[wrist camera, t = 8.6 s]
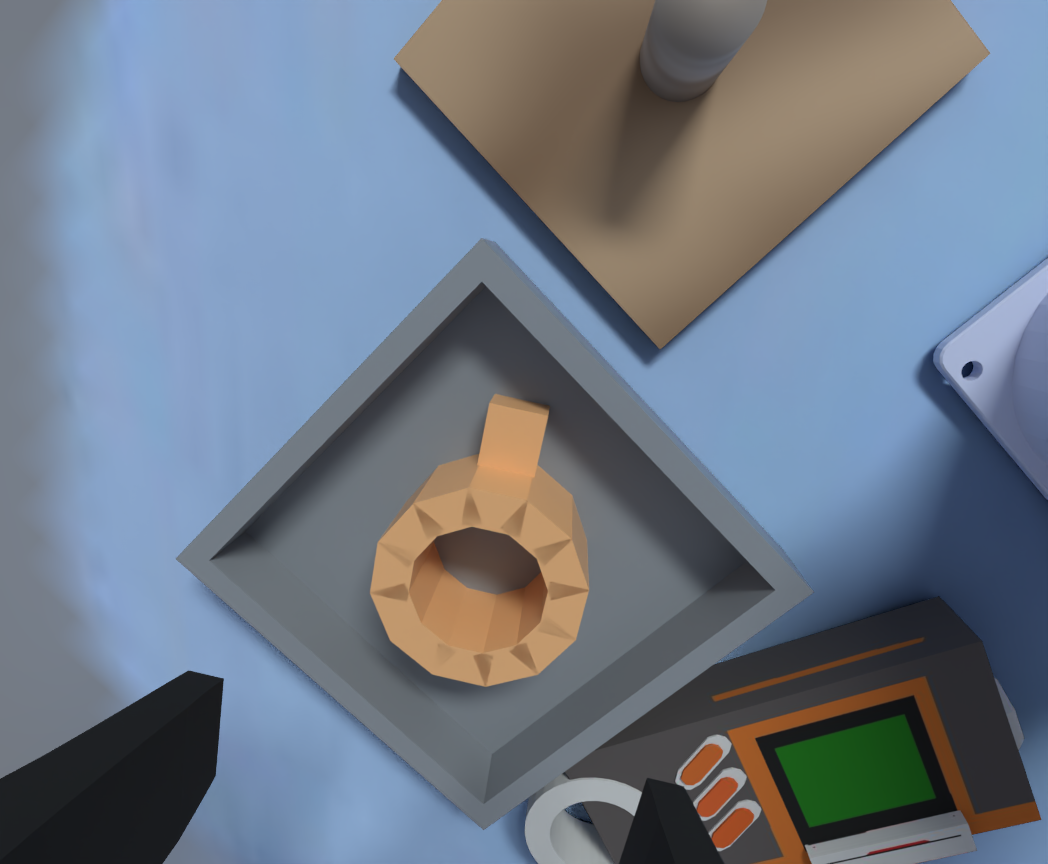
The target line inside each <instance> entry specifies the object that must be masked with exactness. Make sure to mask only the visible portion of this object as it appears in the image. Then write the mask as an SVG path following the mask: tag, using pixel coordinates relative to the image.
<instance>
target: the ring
mask: <svg viewBox="0 0 1048 864" xmlns="http://www.w3.org/2000/svg"><path fill="white" fill-rule="evenodd" d="M549 409H550V406H548V405H544V404H539V403H535V402H530V401H526V400H521V399H517V398H512V397H507V396H503V395H498V394H495V395H494V396H493V398H492V399H491V401H490V403H489V407H488V412H487V417H486V423H485V428H484V433H483V438H482V443H481V448H480V453H479V454H476V455H473V456H469V457H466V458H463V459H459V460H456V461H452V462H449V463H446V464H442V465H439V466H438V467H437V468H436V469H435V470H434V472H433V473H432V474H431V475H430V476H429V477H428V478H427V479H426V480H425V481H424V483H423V484H422V485H421V486H420V487H419V488H418V489H417V490H416V491H415V492H414V494H413V495H412V496H411V497H410V498H409V499H408V500H407V502H406V503H405V504H404V506H403V507H402V509H401V510H400V511H399V513H398V514H397V516H396V517H395V519H394V520H393V521H392V523H391V524H390V526H389V527H388V528H387V530H386V531H385V533H384V534H383V535H382V537H381V538H380V540H379V541H378V544H377V550H376V557H375V563H374V570H373V576H372V582H371V589H370V594H371V597H372V599H373V601H374V604H375V606H376V609H377V611H378V613H379V616H380V618H381V620H382V623H383V625H384V627H385V630H386V632H387V634H388V637H389V639H390V641H391V642H392V643H394V644H395V645H396V646H397V647H399V648H400V649H401V650H402V651H404V652H405V653H406V654H407V655H409V656H410V657H411V658H412V659H414V660H415V661H416V662H417V663H419V664H420V665H421V666H422V667H424V668H425V669H426V670H427V671H429V672H430V673H431V674H432V675H437V676H441V677H445V678H450V679H454V680H458V681H463V682H467V683H471V684H476V685H480V686H484V687H487V686H492V685H496V684H500V683H504V682H509V681H513V680H517V679H521V678H526V677H530V676H534V675H538V674H539V673H540V672H541V671H542V670H544V669H545V668H546V667H547V666H548V665H549V664H550V663H551V662H552V661H553V660H555V659H556V658H557V657H558V656H559V655H560V654H561V653H562V652H563V651H564V650H565V649H567V648H568V647H569V646H570V645H571V644H572V643H573V642H574V641H575V640H576V638H577V634H578V630H579V626H580V623H581V619H582V615H583V611H584V608H585V604H586V600H587V596H588V592H589V576H588V553H587V539H586V536H585V533H584V530H583V526H582V523H581V520H580V517H579V514H578V511H577V508H576V505H575V502H574V499H573V495H571V494H570V493H569V492H568V491H567V490H566V489H565V488H563V487H562V486H561V485H560V484H559V483H558V482H557V481H555V480H554V479H553V478H552V477H551V476H550V475H549V474H547V473H546V472H545V471H544V470H543V469H542V468H541V467H540V466H538V465H537V464H538V459H539V455H540V450H541V446H542V442H543V437H544V433H545V428H546V424H547V419H548V415H549ZM469 527H476V528H481V529H485V530H489V531H494V532H498V533H503V534H507V535H510V536H511V537H512V538H513V539H514V540H515V541H517V542H518V543H519V544H520V545H521V546H522V547H524V548H525V549H526V550H527V551H528V552H529V553H531V554H532V555H533V556H534V557H535V558H536V559H537V561H538V564H539V567H540V569H541V573H540V574H538V575H537V576H536V577H535V578H534V579H533V580H532V581H531V582H530V583H529V584H528V585H527V586H526V587H525V588H521V589H517V590H513V591H509V592H505V593H501V594H498V595H496V594H491V593H487V592H483V591H478V590H474V589H469V588H467V587H466V586H464V585H463V584H462V583H461V582H459V581H458V580H457V579H456V578H455V577H453V576H452V575H451V574H450V573H449V572H447V571H446V570H445V569H444V566H443V564H442V561H441V559H440V556H439V554H438V551H437V549H436V546H435V544H434V540H435V538H436V537H437V536H440V535H444V534H447V533H451V532H454V531H458V530H462V529H465V528H469Z"/></svg>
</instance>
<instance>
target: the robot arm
mask: <svg viewBox="0 0 1048 864" xmlns="http://www.w3.org/2000/svg"><path fill="white" fill-rule="evenodd" d="M970 361H972V363H973V366H974V367H973V371H972V372H971V374H970V375H969V376H967V377H965V378H963V376H962V374H961V372H962V368H963V366H964V365H965V364H966V363H968V362H970ZM933 362H934V364H935V366H936V368H937V369H938V370H939V371H940V373H941V374H942V375H943V376H944V377H945V379H946V380H947V381H948V382H949V383H950V385H951V386H952V387H953V388H954V389H955V391H956V392H957V393H958V394H959V395H960V397H961V398H962V399H963V400H964V401H965V403H966V404H967V405H968V406H969V407H970V409H971V410H972V411H973V412H974V413H975V414H976V416H977V417H978V418H979V419H980V420H981V422H982V423H983V424H984V425H985V426H986V428H987V429H988V430H989V431H990V432H991V434H992V435H993V436H994V437H995V438H996V440H997V441H998V442H999V443H1000V444H1001V446H1002V447H1003V448H1004V449H1005V450H1006V451H1007V453H1008V454H1009V455H1010V456H1011V457H1012V459H1013V460H1014V461H1015V462H1016V463H1017V465H1018V466H1019V467H1020V468H1021V469H1022V471H1023V472H1024V473H1025V474H1026V475H1027V477H1028V478H1029V479H1030V480H1031V481H1032V483H1033V484H1034V485H1035V486H1036V487H1037V489H1038V490H1039V491H1040V492H1041V493H1042V494H1043V496H1044V497H1045V498H1046V499H1047V500H1048V258H1047V259H1046V260H1044V261H1043V262H1042V263H1041V264H1039V265H1038V266H1037V267H1036V268H1034V269H1033V270H1032V271H1030V272H1029V273H1028V274H1027V275H1025V276H1024V277H1023V278H1022V279H1020V280H1019V281H1018V282H1017V283H1015V284H1014V285H1013V286H1011V287H1010V288H1009V289H1008V290H1006V291H1005V292H1004V293H1003V294H1001V295H1000V296H999V297H998V298H996V299H995V300H994V301H992V302H991V303H990V304H989V305H987V306H986V307H985V308H984V309H982V310H981V311H980V312H979V313H977V314H976V315H975V316H973V317H972V318H971V319H970V320H968V321H967V322H966V323H965V324H963V325H962V326H961V327H960V328H958V329H957V330H956V331H954V332H953V333H952V334H951V335H949V336H948V337H947V338H946V339H944V340H943V341H942V342H941V343H940V344H939V345H938V346H937V347H936V349H935V352H934V354H933ZM223 680H224V679H223V678H218V677H214V676H210V675H206V674H201V673H197V672H193V671H187V672H185V673H184V674H182V675H180V676H178V677H177V678H175V679H173V680H171V681H170V682H168V683H166V684H165V685H163V686H161V687H160V688H158V689H156V690H155V691H153V692H151V693H149V694H148V695H146V696H144V697H143V698H141V699H139V700H138V701H136V702H134V703H133V704H131V705H129V706H128V707H126V708H124V709H123V710H121V711H119V712H118V713H116V714H114V715H113V716H111V717H109V718H108V719H106V720H104V721H103V722H101V723H99V724H97V725H96V726H94V727H92V728H91V729H89V730H87V731H85V732H84V733H82V734H80V735H78V736H77V737H75V738H73V739H71V740H70V741H68V742H66V743H65V744H63V745H61V746H59V747H58V748H56V749H54V750H52V751H51V752H49V753H47V754H45V755H44V756H42V757H40V758H38V759H37V760H35V761H33V762H31V763H29V764H27V765H25V766H23V767H21V768H20V769H18V770H16V771H14V772H12V773H10V774H9V775H6V776H5V777H3V778H1V779H0V864H162V863H163V862H164V861H165V859H166V858H167V856H168V855H169V853H170V852H171V851H172V849H173V848H174V846H175V845H176V844H177V842H178V841H179V839H180V837H181V836H182V834H183V832H184V831H185V829H186V827H187V825H188V824H189V822H190V820H191V819H192V817H193V815H194V813H195V812H196V810H197V808H198V806H199V805H200V803H201V801H202V799H203V798H204V796H205V794H206V792H207V790H208V789H209V787H210V785H211V783H212V781H213V780H214V778H215V776H216V765H217V753H218V741H219V729H220V717H221V705H222V693H223ZM619 864H725V863H724V861H723V860H722V858H721V856H720V854H719V852H718V850H717V848H716V846H715V845H714V843H713V841H712V839H711V837H710V835H709V833H708V831H707V829H706V827H705V825H704V823H703V822H702V820H701V818H700V816H699V814H698V812H697V810H696V808H695V806H694V804H693V802H692V800H691V798H690V796H689V795H688V793H687V791H686V789H685V788H684V786H681V785H677V784H672V783H668V782H664V781H660V780H655V779H651V778H647V779H646V782H645V785H644V788H643V791H642V794H641V797H640V800H639V803H638V806H637V809H636V813H635V816H634V819H633V822H632V825H631V828H630V831H629V834H628V837H627V840H626V843H625V846H624V849H623V852H622V855H621V858H620V862H619Z"/></svg>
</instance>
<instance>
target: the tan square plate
mask: <svg viewBox="0 0 1048 864" xmlns="http://www.w3.org/2000/svg"><path fill="white" fill-rule="evenodd" d="M989 54H990V52H989V51H988V50H987V48H986V47H985V46H984V44H983V43H982V42H981V40H980V39H979V38H978V36H977V35H976V34H975V32H974V31H973V30H972V28H971V27H970V26H969V24H968V23H967V22H966V20H965V19H964V18H963V16H962V15H961V14H960V12H959V11H958V10H957V8H956V7H955V6H954V4H953V3H952V2H951V0H442V1H441V2H440V3H439V5H438V6H437V7H436V8H435V9H434V11H433V12H432V13H431V14H430V15H429V17H428V18H427V19H426V20H425V22H424V23H423V24H422V25H421V26H420V28H419V29H418V30H417V31H416V32H415V34H414V35H413V36H412V37H411V38H410V40H409V41H408V42H407V43H406V44H405V46H404V47H403V48H402V49H401V50H400V52H399V53H398V54H397V55H396V56H395V58H394V60H395V61H396V62H397V63H398V64H399V65H400V67H401V68H402V69H403V70H404V71H405V72H406V73H407V74H408V75H409V76H410V77H411V79H412V80H413V81H414V82H415V83H416V84H417V85H418V86H419V87H420V88H421V89H422V91H423V92H424V93H425V94H426V95H427V96H428V97H429V98H430V99H431V100H432V101H433V103H434V104H435V105H436V106H437V107H438V108H439V109H440V110H441V111H442V112H443V113H444V115H445V116H446V117H447V118H448V119H449V120H450V121H451V122H452V123H453V124H454V125H455V127H456V128H457V129H458V130H459V131H460V132H461V133H462V134H463V135H464V136H465V137H466V139H467V140H468V141H469V142H470V143H471V144H472V145H473V146H474V147H475V148H476V149H477V151H478V152H479V153H480V154H481V155H482V156H483V157H484V158H485V159H486V160H487V161H488V163H489V164H490V165H491V166H492V167H493V168H494V169H495V170H496V171H497V172H498V173H499V175H500V176H501V177H502V178H503V179H504V180H505V181H506V182H507V183H508V184H509V185H510V187H511V188H512V189H513V190H514V191H515V192H516V193H517V194H518V195H519V196H520V197H521V199H522V200H523V201H524V202H525V203H526V204H527V205H528V206H529V207H530V208H531V209H532V211H533V212H534V213H535V214H536V215H537V216H538V217H539V218H540V219H541V220H542V221H543V223H544V224H545V225H546V226H547V227H548V228H549V229H550V230H551V231H552V232H553V233H554V235H555V236H556V237H557V238H558V239H559V240H560V241H561V242H562V243H563V244H564V245H565V247H566V248H567V249H568V250H569V251H570V252H571V253H572V254H573V255H574V256H575V257H576V259H577V260H578V261H579V262H580V263H581V264H582V265H583V266H584V267H585V268H586V269H587V271H588V272H589V273H590V274H591V275H592V276H593V277H594V278H595V279H596V280H597V281H598V283H599V284H600V285H601V286H602V287H603V288H604V289H605V290H606V291H607V292H608V293H609V295H610V296H611V297H612V298H613V299H614V300H615V301H616V302H617V303H618V304H619V305H620V307H621V308H622V309H623V310H624V311H625V312H626V313H627V314H628V315H629V316H630V317H631V319H632V320H633V321H634V322H635V323H636V324H637V325H638V326H639V327H640V328H641V329H642V331H643V332H644V333H645V334H646V335H647V336H648V337H649V338H650V339H651V340H652V341H653V343H654V344H655V345H656V346H657V347H658V348H659V349H661V348H663V347H664V346H665V345H666V344H667V343H668V342H669V341H670V340H671V339H673V338H674V337H675V336H676V335H677V334H678V333H679V332H680V331H681V330H683V329H684V328H685V327H686V326H687V325H688V324H689V323H690V322H692V321H693V320H694V319H695V318H696V317H697V316H698V315H699V314H700V313H702V312H703V311H704V310H705V309H706V308H707V307H708V306H709V305H710V304H712V303H713V302H714V301H715V300H716V299H717V298H718V297H719V296H720V295H722V294H723V293H724V292H725V291H726V290H727V289H728V288H729V287H731V286H732V285H733V284H734V283H735V282H736V281H737V280H738V279H739V278H741V277H742V276H743V275H744V274H745V273H746V272H747V271H748V270H749V269H751V268H752V267H753V266H754V265H755V264H756V263H757V262H758V261H759V260H761V259H762V258H763V257H764V256H765V255H766V254H767V253H768V252H770V251H771V250H772V249H773V248H774V247H775V246H776V245H777V244H778V243H780V242H781V241H782V240H783V239H784V238H785V237H786V236H787V235H788V234H790V233H791V232H792V231H793V230H794V229H795V228H796V227H797V226H798V225H800V224H801V223H802V222H803V221H804V220H805V219H806V218H807V217H809V216H810V215H811V214H812V213H813V212H814V211H815V210H816V209H817V208H819V207H820V206H821V205H822V204H823V203H824V202H825V201H826V200H827V199H829V198H830V197H831V196H832V195H833V194H834V193H835V192H836V191H837V190H839V189H840V188H841V187H842V186H843V185H844V184H845V183H846V182H848V181H849V180H850V179H851V178H852V177H853V176H854V175H855V174H856V173H858V172H859V171H860V170H861V169H862V168H863V167H864V166H865V165H866V164H868V163H869V162H870V161H871V160H872V159H873V158H874V157H875V156H876V155H878V154H879V153H880V152H881V151H882V150H883V149H884V148H885V147H887V146H888V145H889V144H890V143H891V142H892V141H893V140H894V139H895V138H897V137H898V136H899V135H900V134H901V133H902V132H903V131H904V130H905V129H907V128H908V127H909V126H910V125H911V124H912V123H913V122H914V121H916V120H917V119H918V118H919V117H920V116H921V115H922V114H923V113H924V112H926V111H927V110H928V109H929V108H930V107H931V106H932V105H933V104H934V103H936V102H937V101H938V100H939V99H940V98H941V97H942V96H943V95H944V94H946V93H947V92H948V91H949V90H950V89H951V88H952V87H953V86H955V85H956V84H957V83H958V82H959V81H960V80H961V79H962V78H963V77H965V76H966V75H967V74H968V73H969V72H970V71H971V70H972V69H973V68H975V67H976V66H977V65H978V64H979V63H980V62H981V61H982V60H983V59H985V58H986V57H987V56H988V55H989Z"/></svg>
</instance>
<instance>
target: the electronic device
mask: <svg viewBox="0 0 1048 864" xmlns="http://www.w3.org/2000/svg"><path fill="white" fill-rule="evenodd" d="M1023 740H1024V736H1023V733H1022V730H1021V727H1020V724H1019V721H1018V718H1017V714H1016V711H1015V709H1014V708H1013V706H1012V704H1011V702H1010V701H1009V699H1008V697H1007V695H1006V694H1005V692H1004V690H1003V689H1002V687H1001V685H1000V683H999V682H998V680H997V679H996V678H994V676H993V673H992V670H991V667H990V664H989V661H988V658H987V655H986V652H985V649H984V646H983V643H982V641H981V639H980V638H979V637H978V636H977V635H976V634H975V633H974V632H973V631H972V630H971V629H970V628H969V627H968V626H967V625H966V624H965V623H964V622H963V621H962V620H961V619H960V618H959V617H958V615H957V614H956V613H955V612H954V611H953V610H952V609H951V608H950V607H949V606H948V605H947V604H946V603H945V602H944V601H943V600H942V599H941V598H940V597H939V596H938V597H935V598H932V599H929V600H925V601H922V602H919V603H915V604H912V605H909V606H905V607H902V608H899V609H896V610H892V611H889V612H886V613H882V614H879V615H876V616H873V617H869V618H866V619H863V620H859V621H856V622H853V623H849V624H846V625H843V626H840V627H836V628H833V629H830V630H826V631H823V632H820V633H816V634H813V635H810V636H807V637H803V638H800V639H797V640H793V641H790V642H787V643H784V644H780V645H777V646H774V647H770V648H767V649H764V650H760V651H757V652H754V653H751V654H747V655H744V656H741V657H737V658H734V659H731V660H727V661H724V662H721V663H718V664H715V665H712V666H711V667H709V668H708V669H707V670H705V671H704V672H703V673H701V674H700V675H698V676H697V677H696V678H694V679H693V680H691V681H690V682H689V683H687V684H686V685H684V686H683V687H682V688H680V689H679V690H678V691H676V692H675V693H673V694H672V695H671V696H669V697H668V698H666V699H665V700H664V701H662V702H661V703H659V704H658V705H657V706H655V707H654V708H652V709H651V710H650V711H648V712H647V713H646V714H644V715H643V716H641V717H640V718H639V719H637V720H636V721H634V722H633V723H632V724H630V725H629V726H627V727H626V728H625V729H623V730H622V731H621V732H619V733H618V734H616V735H615V736H614V737H612V738H611V739H609V740H608V741H607V742H605V743H604V744H602V745H601V746H600V747H598V748H597V749H595V750H594V751H593V752H591V753H590V754H589V755H587V756H586V757H584V758H583V759H582V760H580V761H579V762H577V763H576V764H575V765H573V766H572V767H570V768H569V769H568V770H566V771H565V772H564V773H562V774H561V775H559V776H558V777H557V778H555V779H554V780H552V781H551V782H550V783H548V784H547V785H545V786H544V787H543V788H541V789H540V790H539V791H537V792H536V793H534V794H533V795H532V796H530V797H529V798H528V806H527V813H526V821H525V837H526V842H527V845H528V848H529V850H530V852H531V854H532V856H533V857H534V858H535V860H536V861H537V863H538V864H619V862H620V858H621V855H622V852H623V849H624V846H625V843H626V840H627V837H628V834H629V831H630V828H631V825H632V822H633V819H634V816H635V813H636V809H637V806H638V803H639V800H640V797H641V794H642V791H643V788H644V785H645V782H646V779H647V778H651V779H655V780H660V781H664V782H668V783H672V784H677V785H681V786H684V788H685V789H686V791H687V793H688V795H689V796H690V798H691V800H692V802H693V804H694V806H695V808H696V810H697V812H698V814H699V816H700V818H701V820H702V822H703V823H704V825H705V827H706V829H707V831H708V833H709V835H710V837H711V839H712V841H713V843H714V845H715V846H716V848H717V850H718V852H719V854H720V856H721V858H722V860H723V861H724V863H725V864H916V863H921V862H926V861H930V860H935V859H940V858H945V857H949V856H954V855H959V854H964V853H968V852H973V851H977V849H976V846H975V843H974V840H973V837H972V835H973V834H978V833H982V832H987V831H992V830H996V829H1001V828H1006V827H1010V826H1015V825H1019V824H1024V823H1029V822H1033V821H1038V820H1041V817H1040V814H1039V811H1038V808H1037V805H1036V802H1035V799H1034V796H1033V793H1032V790H1031V787H1030V784H1029V781H1028V778H1027V775H1026V772H1025V769H1024V766H1023V763H1022V760H1021V757H1020V754H1019V749H1020V747H1021V745H1022V742H1023ZM579 802H582V804H583V806H584V808H585V809H586V811H587V813H588V815H589V817H590V819H591V821H592V822H593V824H589V823H586V822H583V821H580V820H578V819H576V818H574V817H573V816H571V815H570V814H568V813H567V812H566V811H565V810H564V809H565V808H567V807H568V806H570V805H573V804H576V803H579Z"/></svg>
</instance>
